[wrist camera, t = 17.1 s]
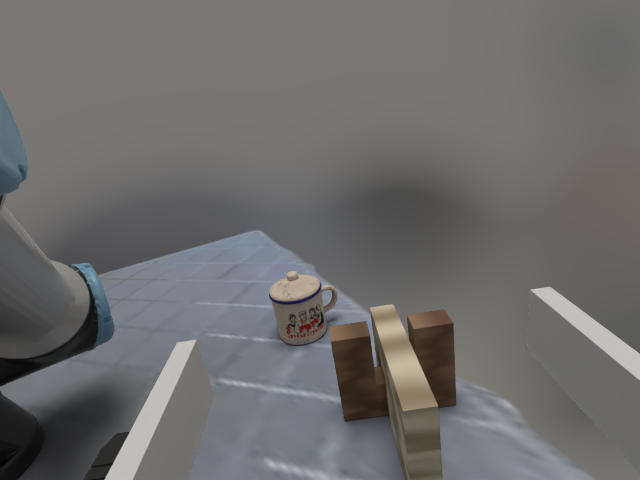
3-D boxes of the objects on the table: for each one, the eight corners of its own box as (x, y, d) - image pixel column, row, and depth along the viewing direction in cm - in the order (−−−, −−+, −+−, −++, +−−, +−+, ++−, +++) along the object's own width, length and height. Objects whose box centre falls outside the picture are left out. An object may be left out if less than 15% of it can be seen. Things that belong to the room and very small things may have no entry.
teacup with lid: (287, 353, 60) (273, 291, 56) (272, 327, 68) (259, 271, 64) (351, 328, 64) (342, 269, 60) (330, 306, 72) (321, 252, 68)
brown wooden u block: (344, 421, 45) (330, 341, 41) (342, 403, 48) (329, 326, 44) (456, 405, 45) (453, 323, 41) (447, 387, 48) (444, 309, 44)
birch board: (443, 502, 35) (438, 406, 31) (412, 506, 35) (402, 411, 31) (400, 378, 51) (393, 304, 47) (379, 381, 51) (370, 307, 47)
